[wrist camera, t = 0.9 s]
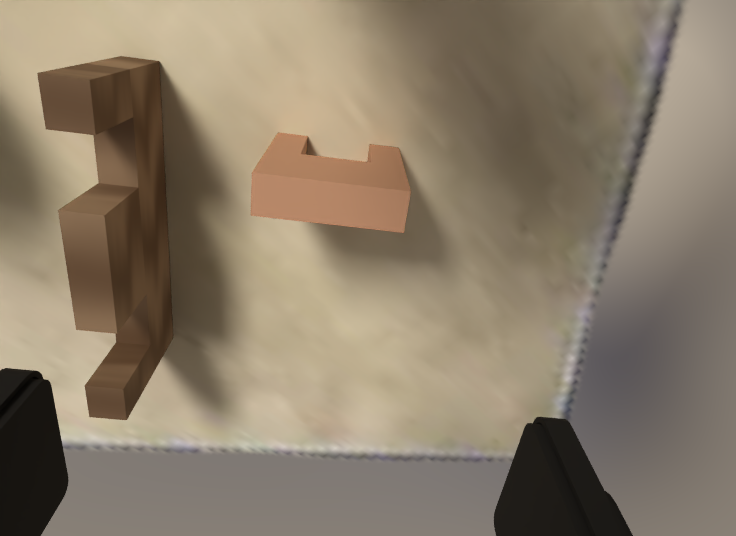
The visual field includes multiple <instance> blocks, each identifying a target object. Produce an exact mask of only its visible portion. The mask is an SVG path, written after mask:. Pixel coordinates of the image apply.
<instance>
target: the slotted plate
mask: <svg viewBox="0 0 736 536" xmlns="http://www.w3.org/2000/svg"><path fill="white" fill-rule="evenodd" d="M307 139H308V136H301V135H293V134H285V133H277V135H276V136H275V138H274V140H273V141H272V143H271V144H270V146H269V147H268V149H267V150H266V152H265V153H264V155H263V156H262V158H261V159H260V161H259V163H258V164H257V166H256V167H255V169H254V170H253V172H252V190H251V216H260V217H269V218H278V219H287V220H295V221H304V222H313V223H322V224H330V225H339V226H348V227H357V228H366V229H374V230H383V231H392V232H401V233H404V229H405V223H406V218H407V212H408V206H409V200H410V195H411V190H410V186H409V183H408V179H407V176H406V172H405V168H404V165H403V161H402V158H401V154H400V151H399V148H396V147H388V146H380V145H372V144H370V146H369V153H368V161H367V162H362V161H354V160H346V159H337V158H329V157H321V156H313V155H306V152H307Z"/></svg>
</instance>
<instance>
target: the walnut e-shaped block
mask: <svg viewBox="0 0 736 536" xmlns="http://www.w3.org/2000/svg"><path fill="white" fill-rule="evenodd" d="M37 74H38V80H39V87H40V93H41V100H42V107H43V113H44V120H45V126H46V129H49V130H57V131H65V132H74V133H82V134H90V135H94V144H95V153H96V162H97V171H98V180H99V183H98V184H97V185H95V186H94V187H92V188H91V189H89V190H88V191H86V192H85V193H83V194H82V195H80V196H79V197H77V198H76V199H74V200H73V201H71V202H70V203H68V204H67V205H65V206H64V207H62V208H61V209H59V210H58V212H59V219H60V225H61V232H62V239H63V245H64V252H65V258H66V265H67V272H68V278H69V285H70V291H71V298H72V305H73V311H74V318H75V324H76V330H85V331H95V332H106V333H116V344H115V345H114V346H113V348H112V349H111V350H110V352H109V353H108V355H107V356H106V357H105V359H104V360H103V361H102V363H101V364H100V366H99V367H98V368H97V370H96V371H95V372H94V374H93V375H92V377H91V378H90V379H89V381H88V382H87V383H86V385H85V390H86V397H87V404H88V410H89V417H96V418H108V419H119V420H127V419H128V417H129V415H130V413H131V411H132V410H133V408H134V406H135V404H136V403H137V401H138V399H139V397H140V396H141V394H142V392H143V390H144V388H145V387H146V385H147V383H148V381H149V380H150V378H151V376H152V374H153V373H154V371H155V369H156V367H157V365H158V364H159V362H160V360H161V358H162V357H163V355H164V353H165V351H166V350H167V348H168V346H169V344H170V342H171V341H172V339H173V322H172V303H171V283H170V263H169V243H168V223H167V203H166V183H165V163H164V144H163V124H162V104H161V84H160V64H159V61H153V60H145V59H138V58H130V57H123V56H120V57H115V58H110V59H105V60H100V61H95V62H90V63H85V64H80V65H75V66H70V67H65V68H60V69H55V70H50V71H46V72H41V73H37Z"/></svg>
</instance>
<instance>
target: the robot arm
mask: <svg viewBox="0 0 736 536" xmlns="http://www.w3.org/2000/svg"><path fill="white" fill-rule="evenodd" d="M67 486H68V473H67V468H66V463H65V457H64V452H63V446H62V441H61V436H60V430H59V425H58V420H57V414H56V409H55V403H54V398H53V393H52V387H51V384H50V382H49V381H48V380H44V379H43V377H42V374H41V373H40V372H38V371H32V370H21V369H10V368H5V369H2V370H1V371H0V536H41V534H42V532H43V531H44V529H45V527H46V526H47V524H48V522H49V521H50V519H51V517H52V516H53V514H54V513H55V511H56V509H57V507H58V506H59V504H60V502H61V501H62V499H63V497H64V495H65V493H66V490H67ZM494 527H495V532H496V536H633V535H632V533H631V531H630V529H629V527H628V526H627V524H626V522H625V520H624V518H623V516H622V514H621V512H620V510H619V508H618V506H617V504H616V503H615V501H614V500H613V498H612V497H611V495H610V494H608V493H607V492H606V491H604V489H603V487H602V485H601V483H600V481H599V479H598V477H597V475H596V473H595V471H594V469H593V467H592V465H591V464H590V461H589V460H588V458H587V456H586V454H585V452H584V450H583V448H582V446H581V444H580V442H579V440H578V438H577V436H576V434H575V432H574V430H573V428H572V426H571V424H570V423H569V421H567V420H566V419H557V418H546V417H537V418H536V419H535V420H534V422H533V424H532V423H528V424H527V425H526V426H525V428H524V431H523V434H522V436H521V439H520V442H519V445H518V448H517V450H516V453H515V456H514V459H513V462H512V464H511V467H510V470H509V473H508V476H507V478H506V481H505V484H504V487H503V490H502V492H501V495H500V498H499V501H498V504H497V506H496V509H495V513H494Z"/></svg>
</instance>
